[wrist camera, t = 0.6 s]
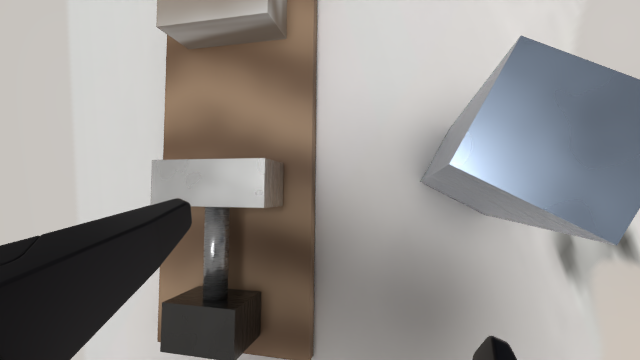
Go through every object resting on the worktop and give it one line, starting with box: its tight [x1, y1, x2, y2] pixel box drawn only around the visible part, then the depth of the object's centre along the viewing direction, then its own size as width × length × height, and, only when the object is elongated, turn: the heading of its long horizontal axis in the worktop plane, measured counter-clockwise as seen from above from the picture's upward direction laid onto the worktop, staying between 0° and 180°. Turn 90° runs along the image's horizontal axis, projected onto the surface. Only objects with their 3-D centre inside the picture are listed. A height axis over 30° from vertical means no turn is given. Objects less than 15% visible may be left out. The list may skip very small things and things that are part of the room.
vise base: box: [156, 0, 317, 360], centre depth 23 cm, size 28×12×4 cm, turn 0°
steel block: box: [420, 36, 640, 245], centre depth 15 cm, size 4×4×13 cm
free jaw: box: [151, 158, 284, 360], centre depth 22 cm, size 12×8×4 cm, turn 0°
